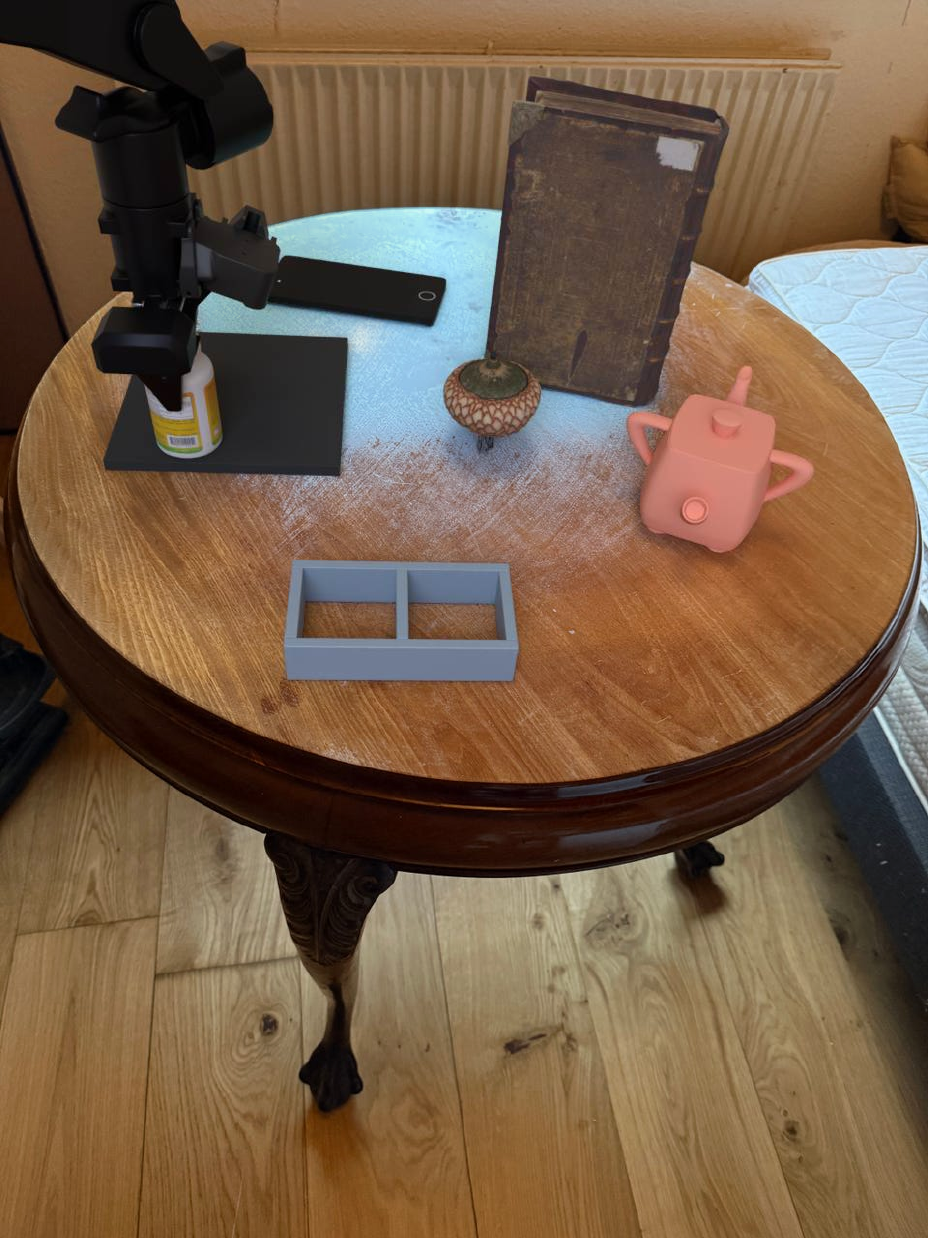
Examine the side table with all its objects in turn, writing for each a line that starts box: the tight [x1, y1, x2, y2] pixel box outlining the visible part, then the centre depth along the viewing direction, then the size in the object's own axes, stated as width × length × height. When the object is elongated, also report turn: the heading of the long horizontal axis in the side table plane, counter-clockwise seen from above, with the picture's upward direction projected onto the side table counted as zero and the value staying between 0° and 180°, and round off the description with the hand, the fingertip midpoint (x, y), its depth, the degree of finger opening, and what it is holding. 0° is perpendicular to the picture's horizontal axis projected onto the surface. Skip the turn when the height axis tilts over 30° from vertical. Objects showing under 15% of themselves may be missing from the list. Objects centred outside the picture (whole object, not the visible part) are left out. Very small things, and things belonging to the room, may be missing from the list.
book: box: [483, 74, 730, 408], centre depth 80 cm, size 17×7×25 cm, turn 71°
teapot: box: [625, 365, 815, 554], centre depth 73 cm, size 14×12×10 cm
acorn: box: [442, 350, 542, 454], centre depth 77 cm, size 8×8×10 cm
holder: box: [283, 559, 520, 682], centre depth 64 cm, size 15×8×4 cm, turn 93°
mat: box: [102, 331, 349, 477], centre depth 83 cm, size 19×20×1 cm
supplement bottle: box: [144, 329, 222, 458], centre depth 74 cm, size 5×5×10 cm
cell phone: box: [267, 254, 447, 327], centre depth 97 cm, size 9×18×1 cm, turn 81°
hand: (180, 389), depth 74 cm, fingers closed on supplement bottle, 5 cm apart
